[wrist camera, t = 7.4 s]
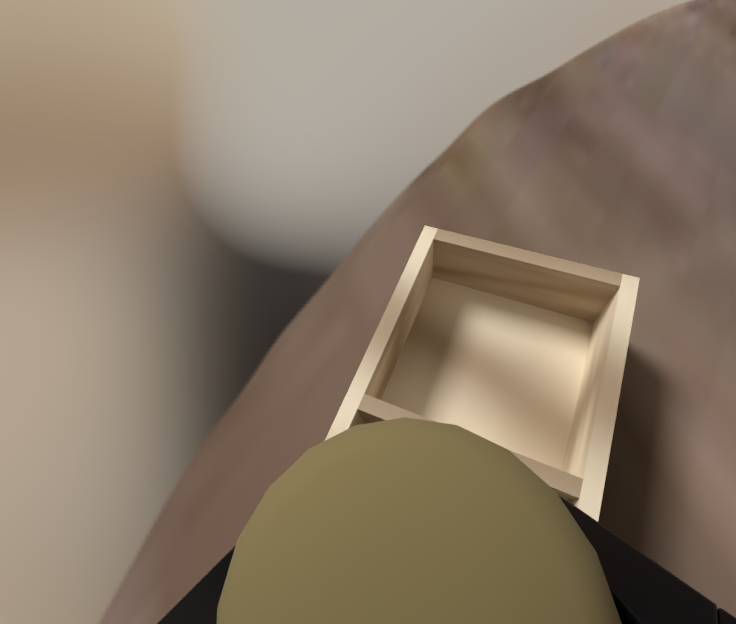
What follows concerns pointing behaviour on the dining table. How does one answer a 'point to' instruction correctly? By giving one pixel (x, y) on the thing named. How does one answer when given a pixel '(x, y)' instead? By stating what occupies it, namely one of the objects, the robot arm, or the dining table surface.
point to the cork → (413, 538)
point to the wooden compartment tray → (504, 356)
